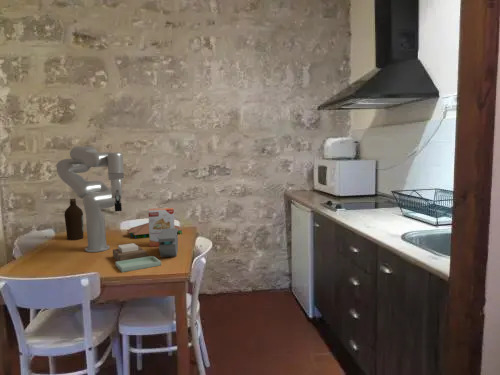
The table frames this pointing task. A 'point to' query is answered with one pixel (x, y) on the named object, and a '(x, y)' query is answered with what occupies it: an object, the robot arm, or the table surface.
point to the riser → (129, 254)
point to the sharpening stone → (168, 242)
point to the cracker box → (159, 223)
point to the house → (145, 230)
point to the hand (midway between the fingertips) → (118, 209)
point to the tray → (137, 263)
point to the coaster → (127, 247)
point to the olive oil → (74, 221)
